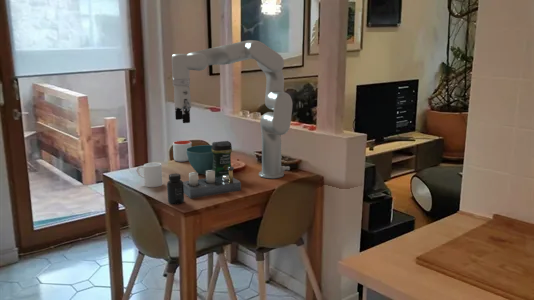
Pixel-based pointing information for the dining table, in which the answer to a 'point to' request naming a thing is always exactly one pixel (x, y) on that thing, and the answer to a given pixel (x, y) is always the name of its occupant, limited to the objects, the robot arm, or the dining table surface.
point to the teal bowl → (200, 158)
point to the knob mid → (210, 176)
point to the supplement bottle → (175, 189)
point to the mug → (151, 174)
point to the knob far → (193, 179)
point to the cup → (181, 150)
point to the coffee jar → (221, 157)
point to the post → (230, 174)
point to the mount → (211, 187)
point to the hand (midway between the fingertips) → (182, 121)
